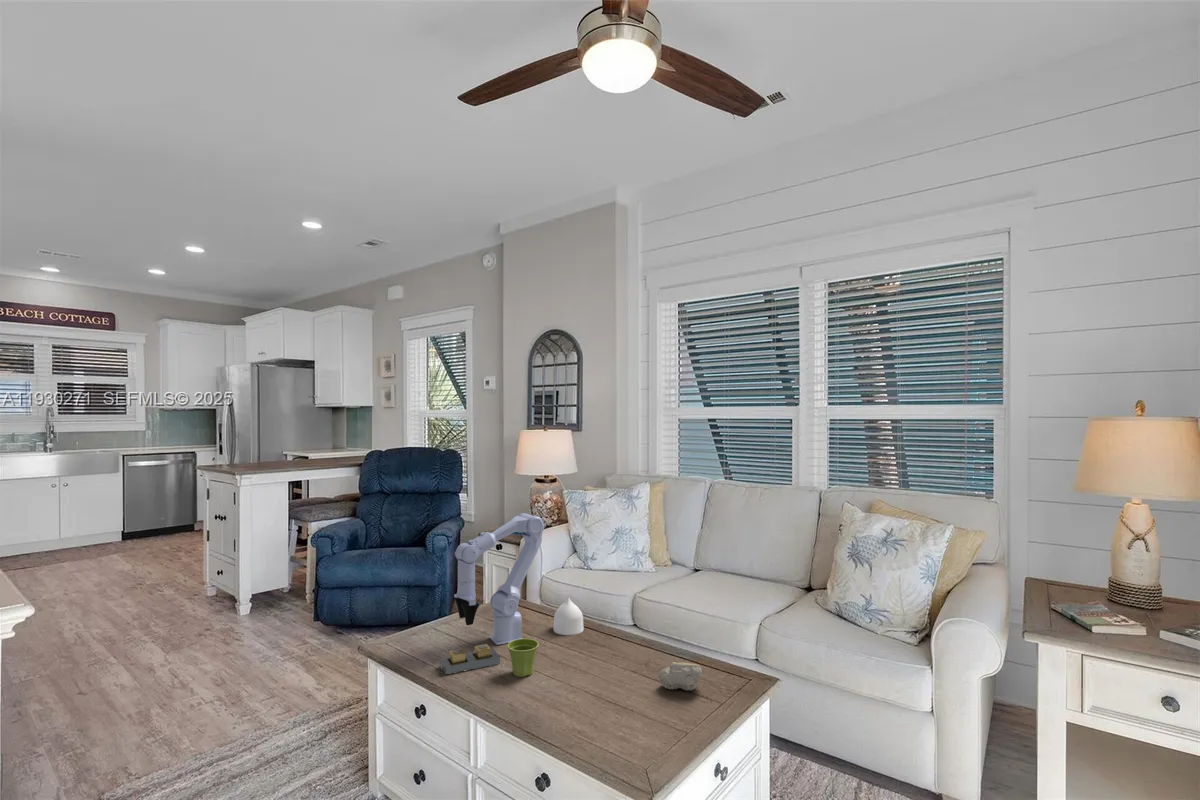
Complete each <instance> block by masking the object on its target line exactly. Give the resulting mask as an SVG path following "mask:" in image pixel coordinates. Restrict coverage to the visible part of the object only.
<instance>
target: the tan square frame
mask: <svg viewBox="0 0 1200 800" xmlns="http://www.w3.org/2000/svg"><path fill="white" fill-rule="evenodd" d="M491 649H492V648H491V647H490V646H489V644H487V643H485V644H478V645H474V652H475V658H476V659H477V660H479V659H483V658H488V657H491Z"/></svg>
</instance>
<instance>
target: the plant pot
mask: <svg viewBox="0 0 1200 800" xmlns="http://www.w3.org/2000/svg"><path fill="white" fill-rule="evenodd" d="M539 644H540V643H539V641H537V640H536V639H533V638H522V639H517V640H513V641H511V642H510V643H507V649H508V652H509V655H510V660H511V669H512V674H513V675H514V676H515V677H520V678H524V677H527V676H532V674H533V673H534V669H535V662H536V661H535V660H536V654H537V650H538V647H539Z"/></svg>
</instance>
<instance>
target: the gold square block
mask: <svg viewBox="0 0 1200 800" xmlns="http://www.w3.org/2000/svg"><path fill="white" fill-rule="evenodd" d="M465 654H466V652H465V651H464V649H463V648H458V649H452V650H449V651H448V657H449V662H450V664H451V665H454V664H459V663H464V662H465Z"/></svg>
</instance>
